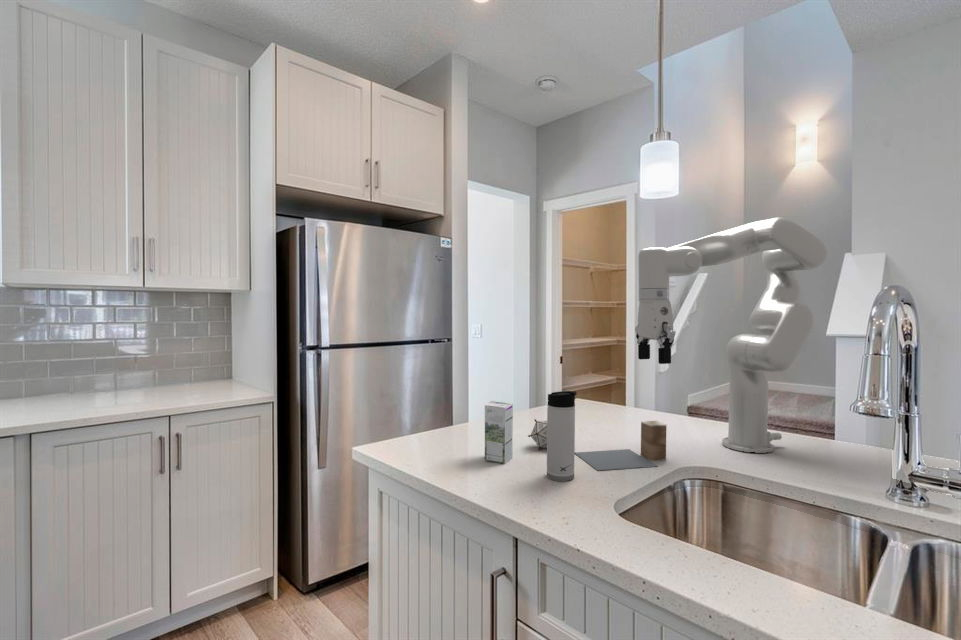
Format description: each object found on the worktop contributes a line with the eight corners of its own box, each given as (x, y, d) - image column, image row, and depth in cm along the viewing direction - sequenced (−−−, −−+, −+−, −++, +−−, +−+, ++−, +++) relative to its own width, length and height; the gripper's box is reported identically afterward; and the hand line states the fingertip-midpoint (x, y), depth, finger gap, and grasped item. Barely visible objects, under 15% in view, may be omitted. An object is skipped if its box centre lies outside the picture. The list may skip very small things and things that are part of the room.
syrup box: (513, 457, 126) (513, 401, 126) (504, 464, 121) (505, 406, 120) (493, 454, 129) (493, 400, 128) (483, 461, 123) (484, 404, 123)
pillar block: (656, 454, 130) (656, 420, 130) (665, 459, 126) (666, 424, 125) (640, 455, 129) (641, 421, 129) (650, 460, 125) (650, 425, 124)
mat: (629, 449, 134) (629, 449, 134) (657, 466, 120) (657, 465, 120) (574, 453, 130) (574, 452, 130) (597, 471, 116) (597, 470, 116)
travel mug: (569, 484, 108) (570, 394, 107) (542, 478, 112) (543, 391, 111) (579, 475, 113) (580, 389, 113) (553, 470, 117) (554, 387, 116)
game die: (550, 463, 133) (561, 440, 127) (521, 450, 135) (531, 427, 129) (558, 440, 140) (568, 417, 134) (530, 428, 142) (539, 405, 136)
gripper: (687, 295, 119) (687, 364, 120) (648, 295, 136) (649, 357, 137) (659, 295, 118) (659, 366, 118) (624, 296, 135) (624, 358, 135)
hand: (654, 361), depth 128 cm, fingers open, 9 cm apart
